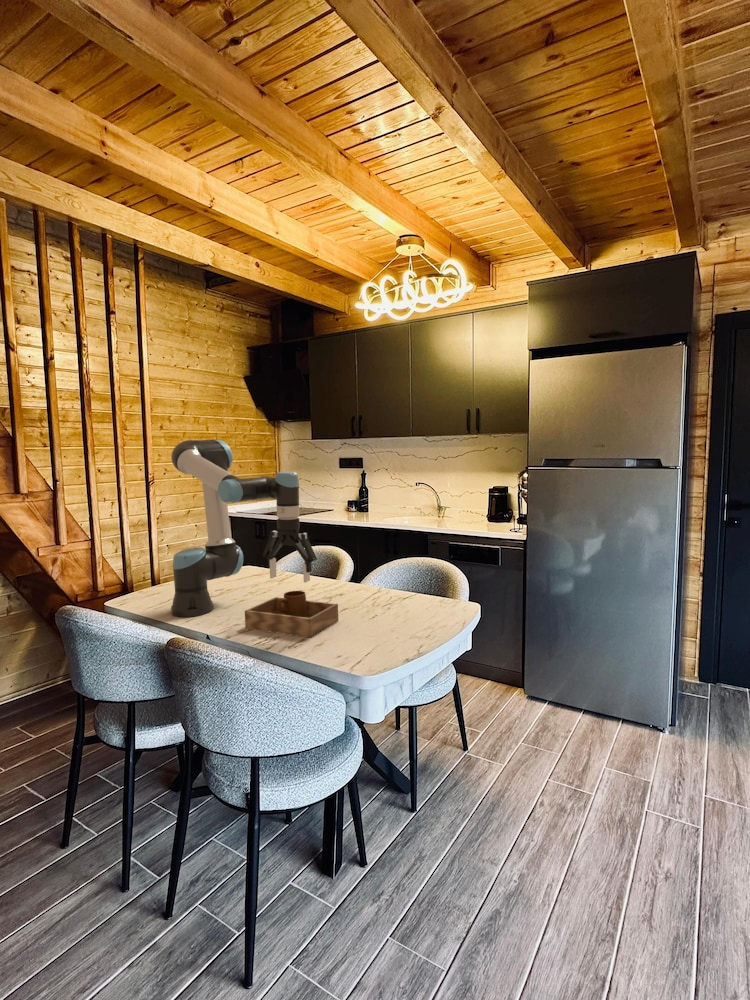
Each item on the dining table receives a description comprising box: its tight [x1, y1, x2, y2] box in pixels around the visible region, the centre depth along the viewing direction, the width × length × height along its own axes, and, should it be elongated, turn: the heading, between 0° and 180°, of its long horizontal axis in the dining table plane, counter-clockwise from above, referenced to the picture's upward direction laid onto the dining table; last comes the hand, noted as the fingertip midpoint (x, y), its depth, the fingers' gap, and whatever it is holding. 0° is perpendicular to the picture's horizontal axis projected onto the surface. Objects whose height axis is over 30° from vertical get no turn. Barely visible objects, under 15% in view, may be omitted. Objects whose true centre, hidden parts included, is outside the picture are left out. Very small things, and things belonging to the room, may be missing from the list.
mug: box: [276, 590, 307, 617], centre depth 185 cm, size 12×8×9 cm, turn 141°
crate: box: [244, 596, 339, 638], centre depth 185 cm, size 26×18×6 cm
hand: (289, 579), depth 184 cm, fingers open, 13 cm apart
